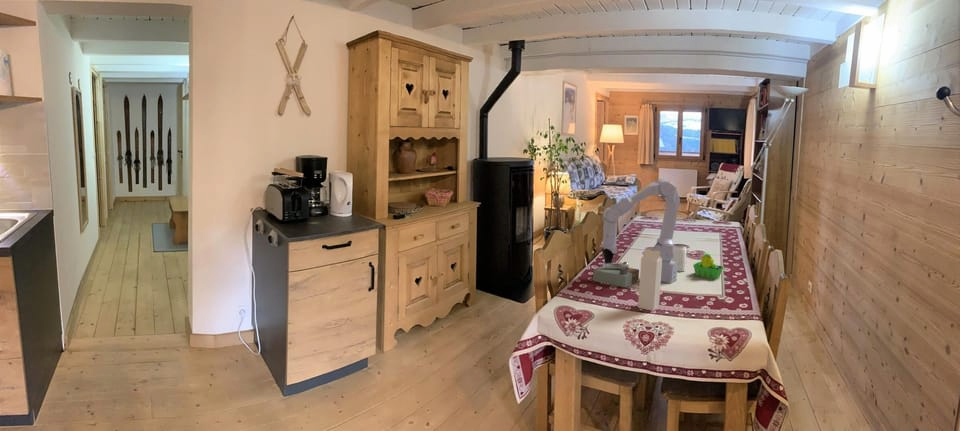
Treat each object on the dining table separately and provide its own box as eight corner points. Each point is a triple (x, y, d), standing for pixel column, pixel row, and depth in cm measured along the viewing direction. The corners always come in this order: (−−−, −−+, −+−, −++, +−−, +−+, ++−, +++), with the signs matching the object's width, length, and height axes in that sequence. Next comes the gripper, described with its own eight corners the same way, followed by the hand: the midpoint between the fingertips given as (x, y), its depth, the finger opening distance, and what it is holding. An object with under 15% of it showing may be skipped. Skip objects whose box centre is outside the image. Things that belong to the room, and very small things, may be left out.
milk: (643, 303, 213) (647, 247, 209) (659, 307, 209) (663, 250, 206) (637, 307, 208) (641, 250, 204) (653, 311, 204) (657, 253, 201)
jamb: (638, 280, 243) (639, 269, 242) (632, 283, 238) (633, 272, 237) (606, 274, 252) (607, 263, 251) (600, 277, 247) (600, 265, 246)
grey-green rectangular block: (631, 284, 237) (632, 267, 236) (625, 287, 232) (626, 270, 231) (599, 277, 246) (600, 261, 245) (592, 280, 241) (593, 264, 240)
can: (685, 272, 256) (687, 247, 254) (671, 271, 258) (673, 246, 255) (683, 268, 263) (685, 244, 260) (669, 267, 264) (671, 243, 262)
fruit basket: (723, 277, 249) (725, 252, 247) (716, 281, 243) (718, 256, 241) (698, 272, 257) (700, 248, 255) (690, 276, 251) (692, 251, 249)
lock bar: (627, 267, 243) (627, 261, 243) (629, 268, 241) (629, 262, 240) (602, 266, 244) (602, 260, 243) (603, 268, 241) (604, 262, 240)
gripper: (595, 231, 248) (593, 261, 250) (606, 239, 234) (604, 270, 236) (610, 231, 249) (608, 261, 251) (622, 238, 234) (620, 269, 237)
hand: (607, 265), depth 244 cm, fingers closed, pressing on lock bar
